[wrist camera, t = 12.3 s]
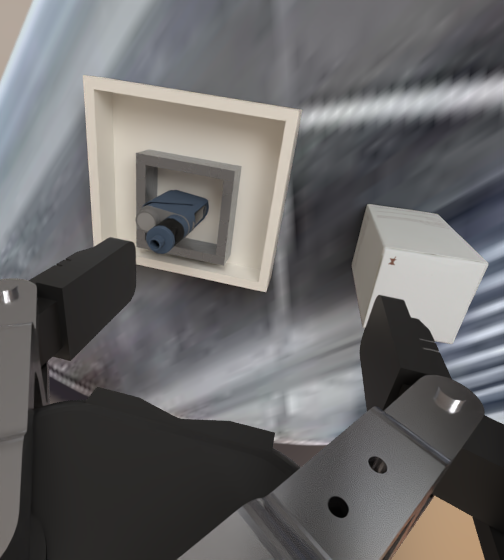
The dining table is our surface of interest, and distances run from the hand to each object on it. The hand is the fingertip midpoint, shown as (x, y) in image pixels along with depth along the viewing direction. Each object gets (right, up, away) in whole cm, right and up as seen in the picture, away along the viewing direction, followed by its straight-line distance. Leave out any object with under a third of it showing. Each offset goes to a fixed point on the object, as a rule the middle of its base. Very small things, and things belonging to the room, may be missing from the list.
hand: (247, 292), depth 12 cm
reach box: (-6, +11, +28) cm, 30 cm away
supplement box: (+15, +5, +27) cm, 31 cm away
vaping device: (-7, +9, +28) cm, 30 cm away
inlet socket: (-6, +9, +29) cm, 31 cm away
